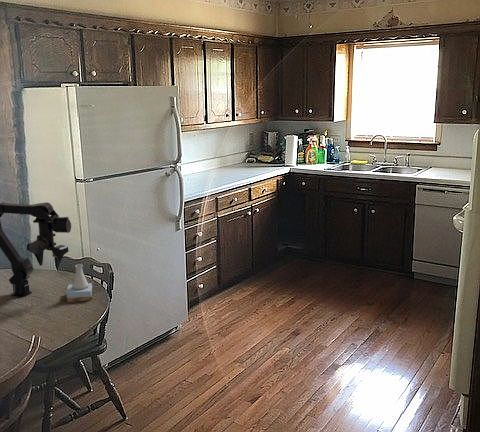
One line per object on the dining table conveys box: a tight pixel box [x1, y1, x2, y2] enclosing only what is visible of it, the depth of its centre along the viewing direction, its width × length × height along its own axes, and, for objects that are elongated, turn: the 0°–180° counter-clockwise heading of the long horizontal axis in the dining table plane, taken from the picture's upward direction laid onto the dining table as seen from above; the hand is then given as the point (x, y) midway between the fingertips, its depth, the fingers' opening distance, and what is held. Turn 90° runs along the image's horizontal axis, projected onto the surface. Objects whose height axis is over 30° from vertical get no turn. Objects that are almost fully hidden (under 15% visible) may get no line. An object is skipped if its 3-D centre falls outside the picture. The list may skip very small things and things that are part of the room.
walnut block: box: [66, 293, 93, 303], centre depth 235 cm, size 10×10×2 cm
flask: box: [72, 263, 89, 290], centre depth 233 cm, size 7×7×10 cm
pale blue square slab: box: [65, 282, 93, 299], centre depth 234 cm, size 10×10×2 cm
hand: (49, 266), depth 234 cm, fingers open, 9 cm apart
